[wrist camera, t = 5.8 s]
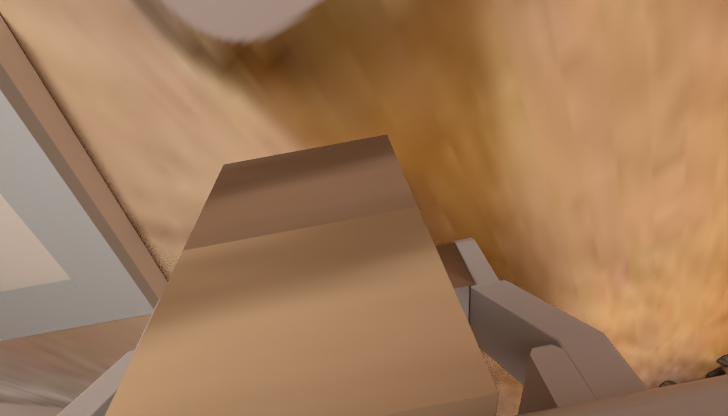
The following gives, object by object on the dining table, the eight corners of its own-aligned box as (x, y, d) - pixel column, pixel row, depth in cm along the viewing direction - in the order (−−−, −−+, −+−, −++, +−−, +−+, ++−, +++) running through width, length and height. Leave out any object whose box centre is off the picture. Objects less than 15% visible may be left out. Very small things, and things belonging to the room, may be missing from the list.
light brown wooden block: (223, 164, 11) (77, 473, 4) (386, 134, 11) (499, 392, 4) (271, 281, 14) (230, 576, 7) (401, 256, 14) (482, 526, 7)
